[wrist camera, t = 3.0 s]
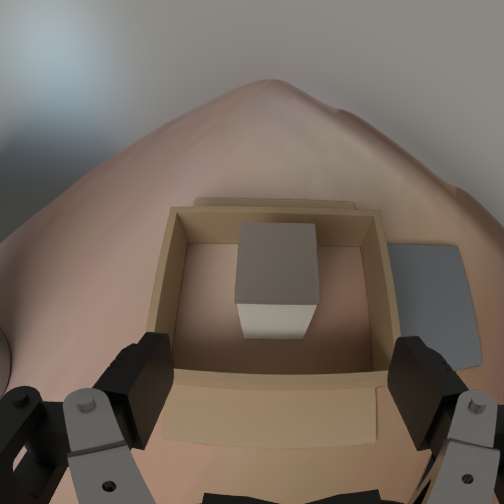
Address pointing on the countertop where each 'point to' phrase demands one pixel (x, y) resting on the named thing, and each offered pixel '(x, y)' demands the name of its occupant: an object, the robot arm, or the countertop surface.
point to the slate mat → (436, 301)
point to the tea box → (276, 279)
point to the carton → (269, 385)
